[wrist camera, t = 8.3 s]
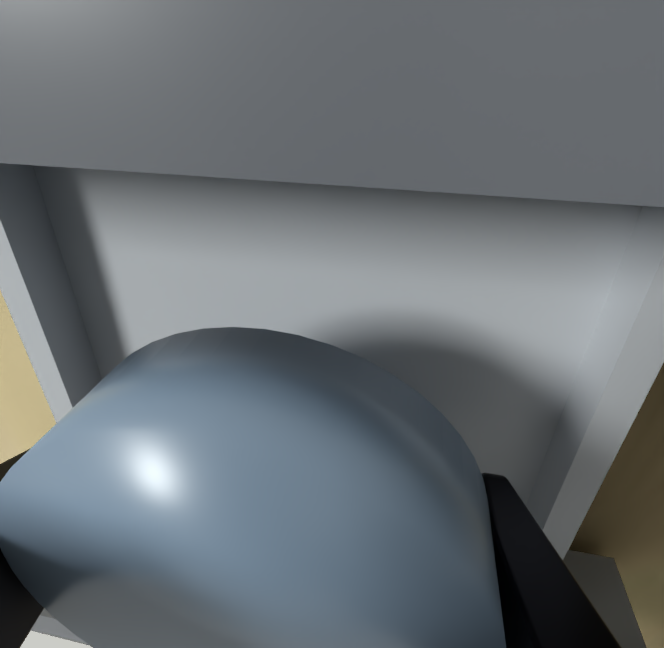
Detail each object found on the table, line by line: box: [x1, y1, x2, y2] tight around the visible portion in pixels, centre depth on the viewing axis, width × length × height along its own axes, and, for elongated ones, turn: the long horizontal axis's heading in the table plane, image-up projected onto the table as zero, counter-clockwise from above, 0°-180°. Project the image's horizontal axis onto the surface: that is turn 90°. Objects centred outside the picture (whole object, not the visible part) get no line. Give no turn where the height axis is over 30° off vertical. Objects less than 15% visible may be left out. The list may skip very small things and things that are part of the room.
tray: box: [0, 163, 664, 648], centre depth 8 cm, size 13×16×4 cm
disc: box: [0, 327, 506, 648], centre depth 7 cm, size 7×7×2 cm
